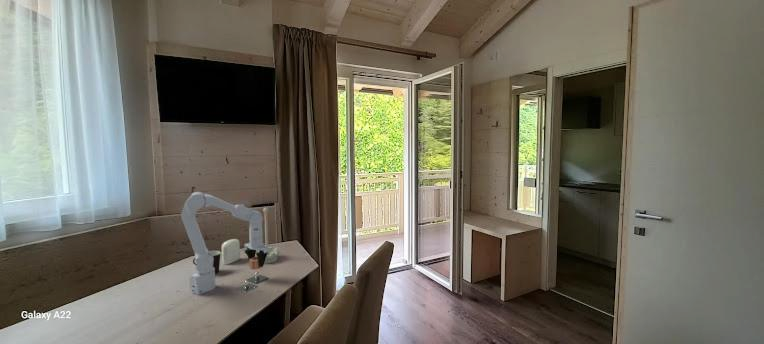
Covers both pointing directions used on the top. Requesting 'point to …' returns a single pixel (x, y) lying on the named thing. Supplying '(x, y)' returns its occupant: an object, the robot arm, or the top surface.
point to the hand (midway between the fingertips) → (256, 264)
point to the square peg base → (257, 278)
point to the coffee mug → (216, 260)
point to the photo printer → (230, 251)
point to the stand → (246, 287)
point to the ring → (254, 263)
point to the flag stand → (272, 252)
